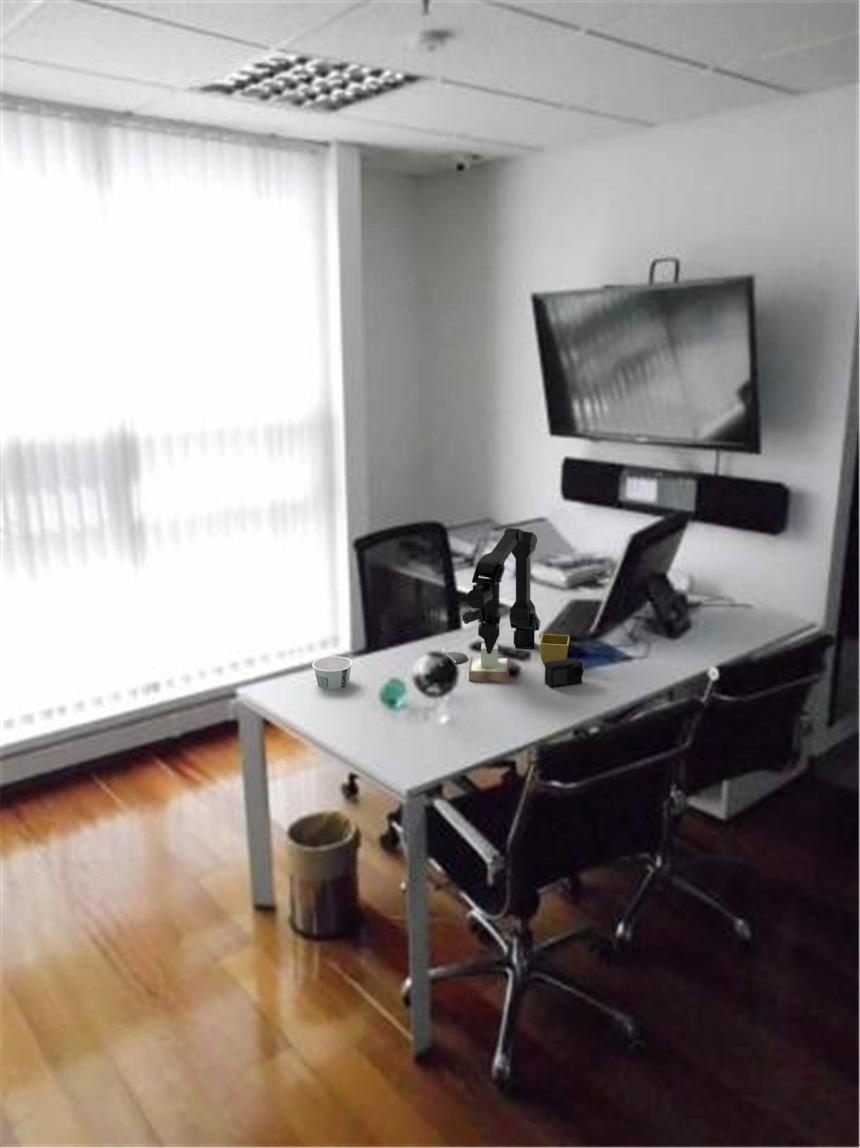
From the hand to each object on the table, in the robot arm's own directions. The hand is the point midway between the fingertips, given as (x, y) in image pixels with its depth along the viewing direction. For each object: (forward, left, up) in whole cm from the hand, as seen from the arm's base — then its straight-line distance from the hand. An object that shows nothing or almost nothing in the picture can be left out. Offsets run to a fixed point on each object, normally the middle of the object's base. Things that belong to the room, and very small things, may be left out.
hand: (489, 648), depth 268 cm
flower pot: (-20, -8, -9) cm, 23 cm away
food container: (+46, +11, -9) cm, 48 cm away
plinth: (0, 0, -8) cm, 8 cm away
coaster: (+12, -12, -8) cm, 19 cm away
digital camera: (-23, +6, -9) cm, 25 cm away
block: (0, 0, -5) cm, 5 cm away
